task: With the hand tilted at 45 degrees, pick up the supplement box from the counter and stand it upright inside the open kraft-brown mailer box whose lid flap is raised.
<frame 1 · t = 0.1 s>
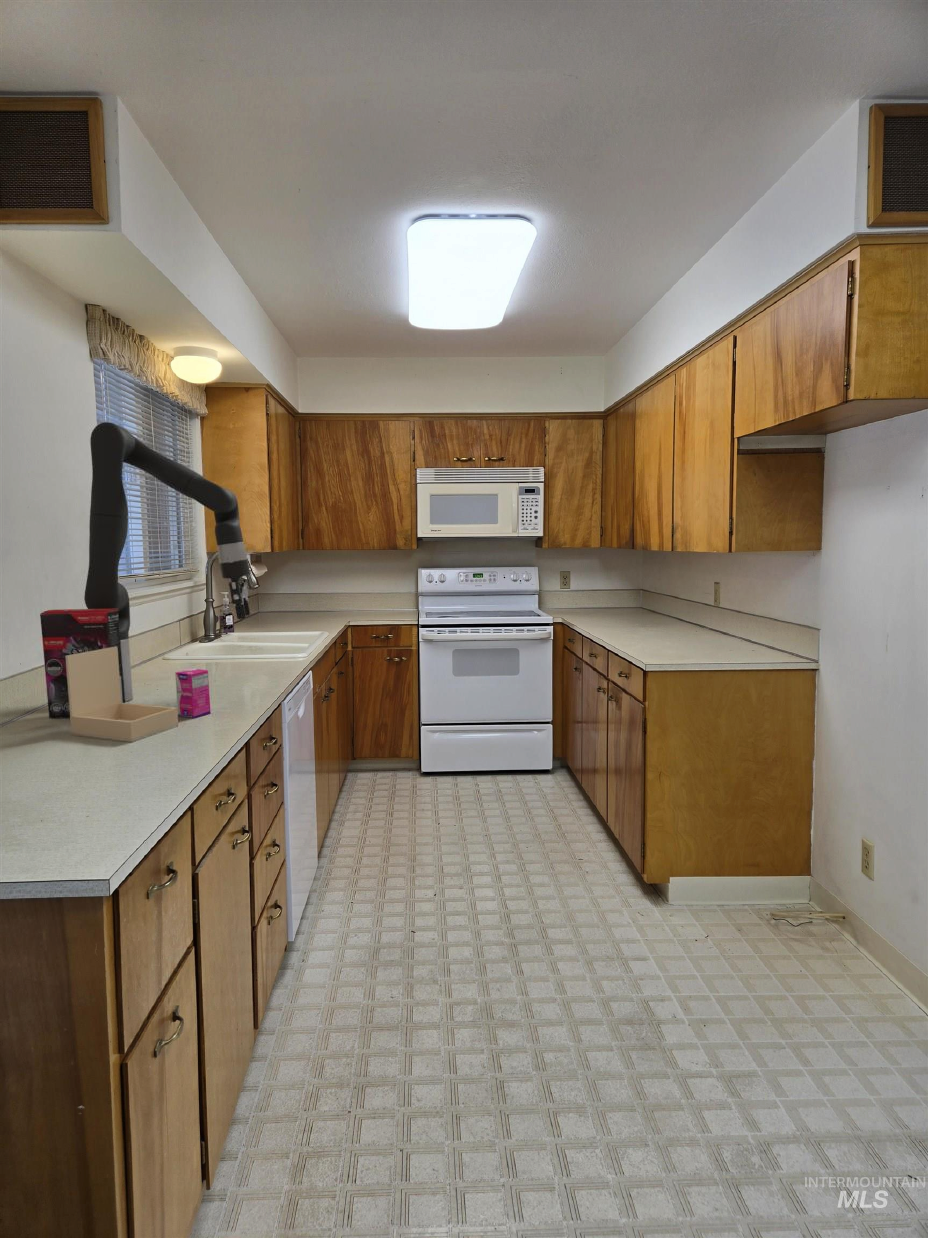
hand: (244, 617, 198), 22 cm above the counter, tool pointing down, fingers open, 8 cm apart
supplement box: (194, 715, 179), on the counter
graphics card box: (88, 716, 179), on the counter
mailer box: (126, 730, 165), on the counter
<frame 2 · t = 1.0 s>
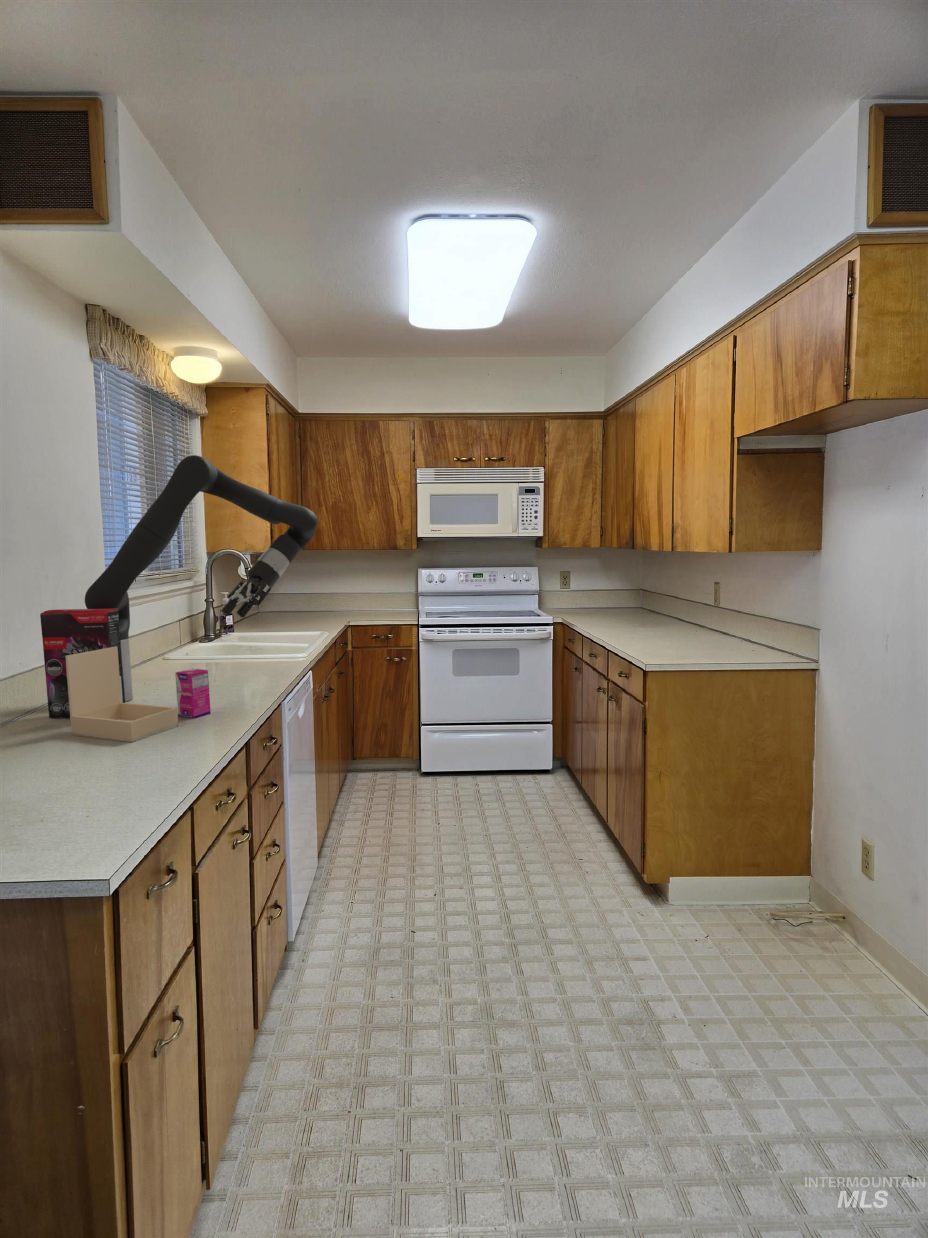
hand: (231, 614, 184), 25 cm above the counter, tool tilted 45°, fingers open, 8 cm apart
nothing on the counter moved.
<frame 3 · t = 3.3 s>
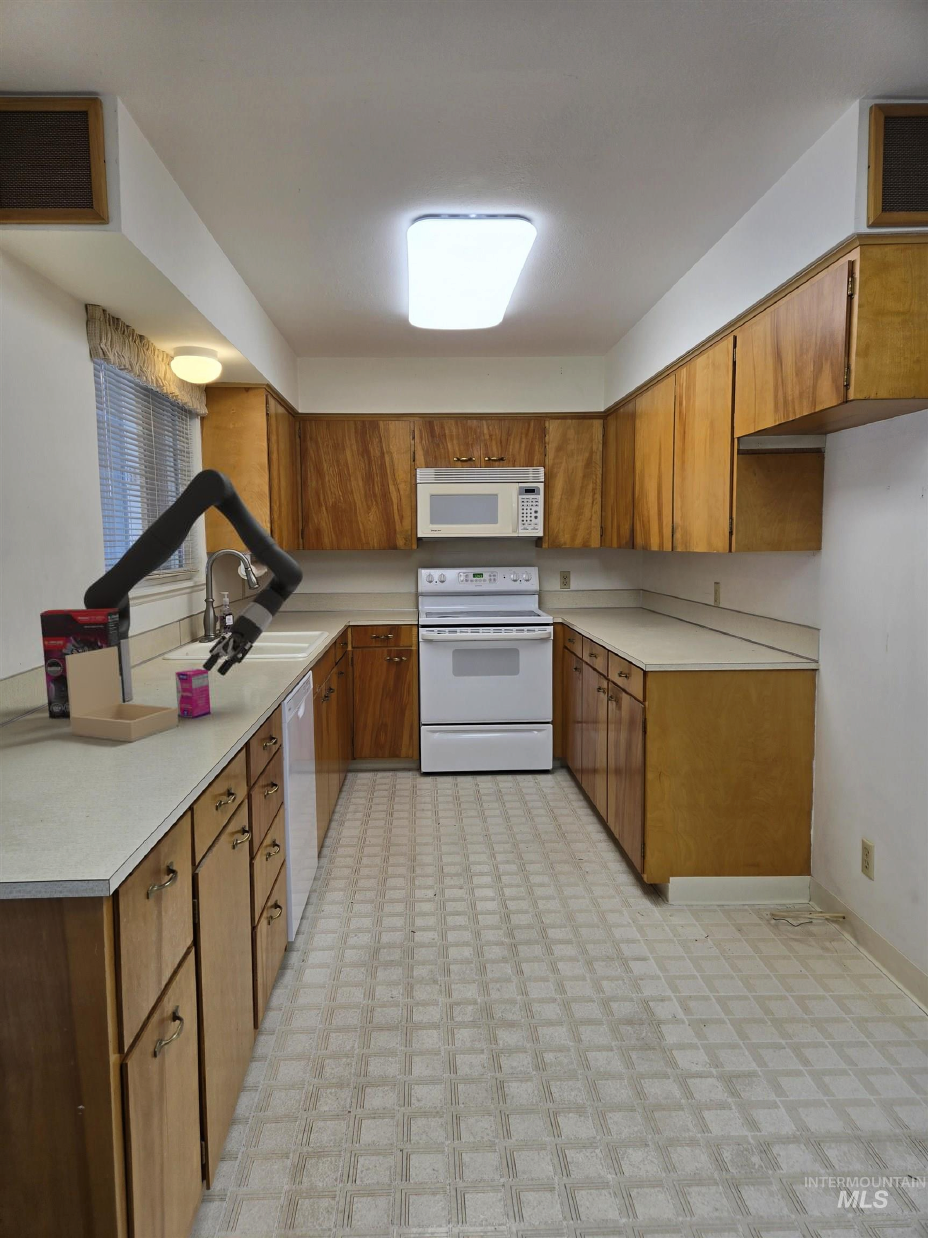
hand: (212, 671, 181), 10 cm above the counter, tool tilted 45°, fingers open, 8 cm apart
nothing on the counter moved.
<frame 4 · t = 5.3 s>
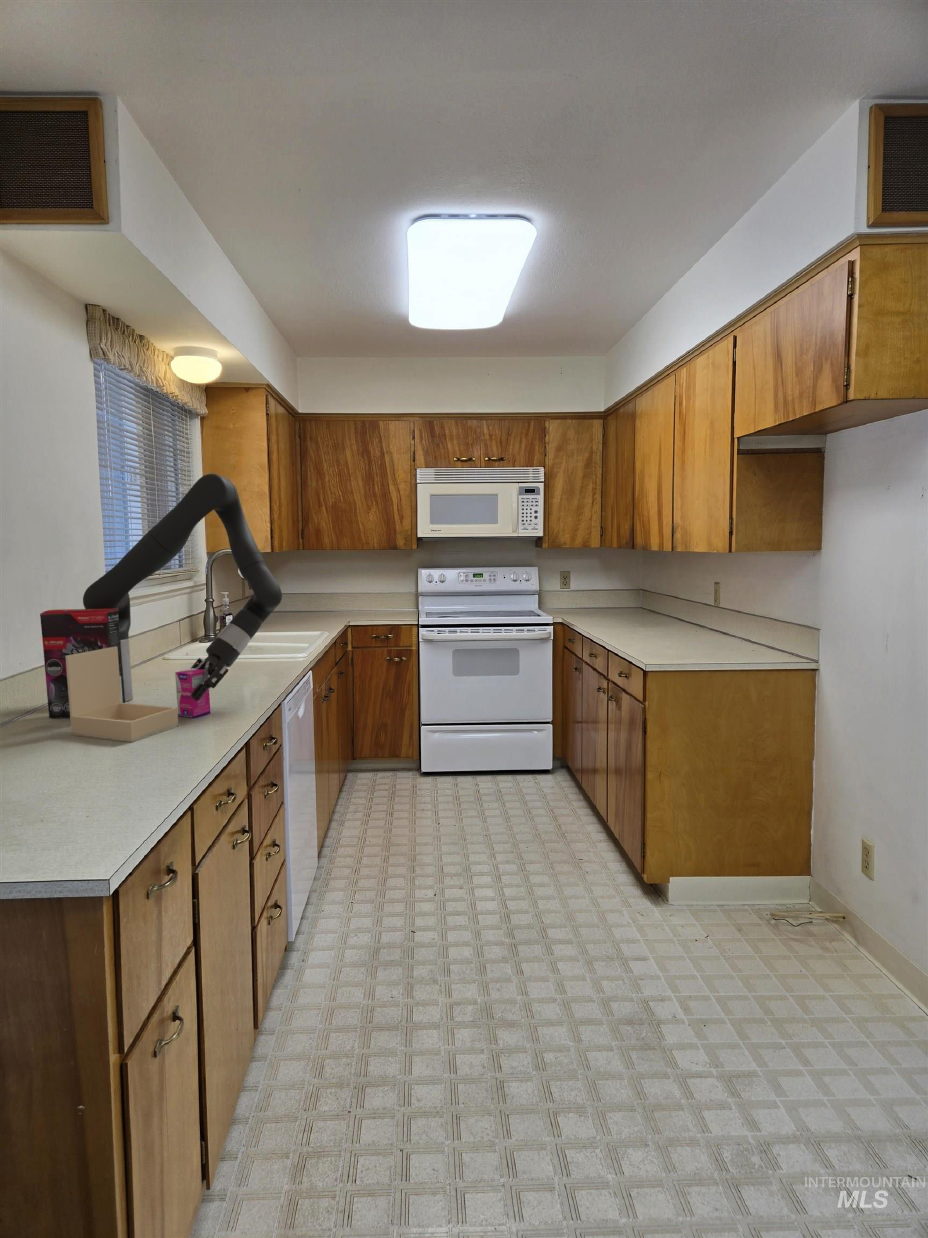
hand: (187, 696, 177), 5 cm above the counter, tool tilted 45°, fingers closed on supplement box, 7 cm apart
supplement box: (194, 715, 179), on the counter, touching gripper
everything else where it was.
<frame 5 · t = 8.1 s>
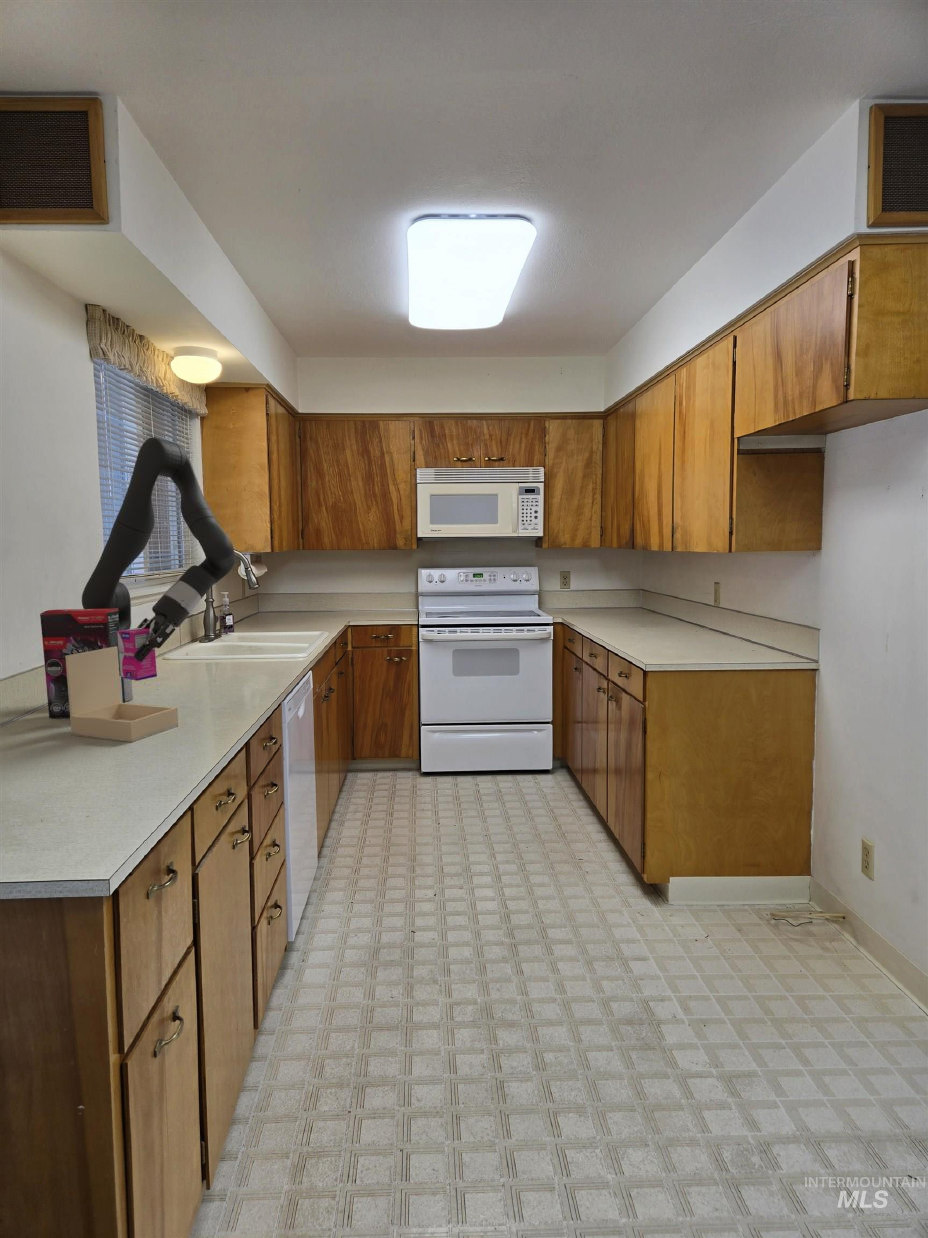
hand: (130, 657, 164), 17 cm above the counter, tool tilted 45°, fingers closed on supplement box, 7 cm apart
supplement box: (139, 678, 166), point 12 cm above the counter, touching gripper
everything else where it was.
when the fingers open (7 cm above the counter, at t = 11.0 s): supplement box drops 1 cm, resting on mailer box.
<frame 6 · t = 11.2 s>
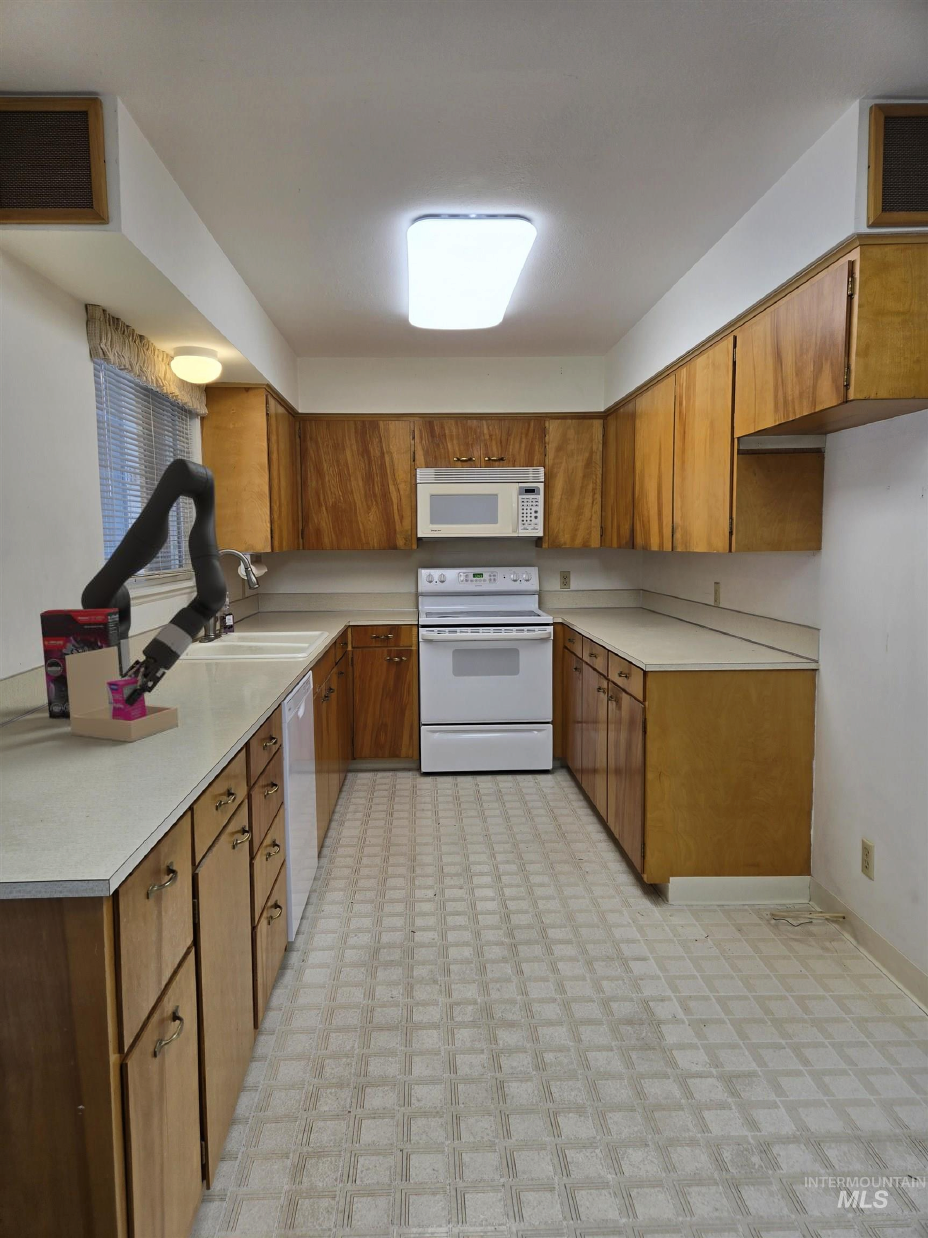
hand: (121, 701, 163), 7 cm above the counter, tool tilted 45°, fingers open, 8 cm apart
supplement box: (129, 728, 164), point 1 cm above the counter, touching mailer box
everything else where it was.
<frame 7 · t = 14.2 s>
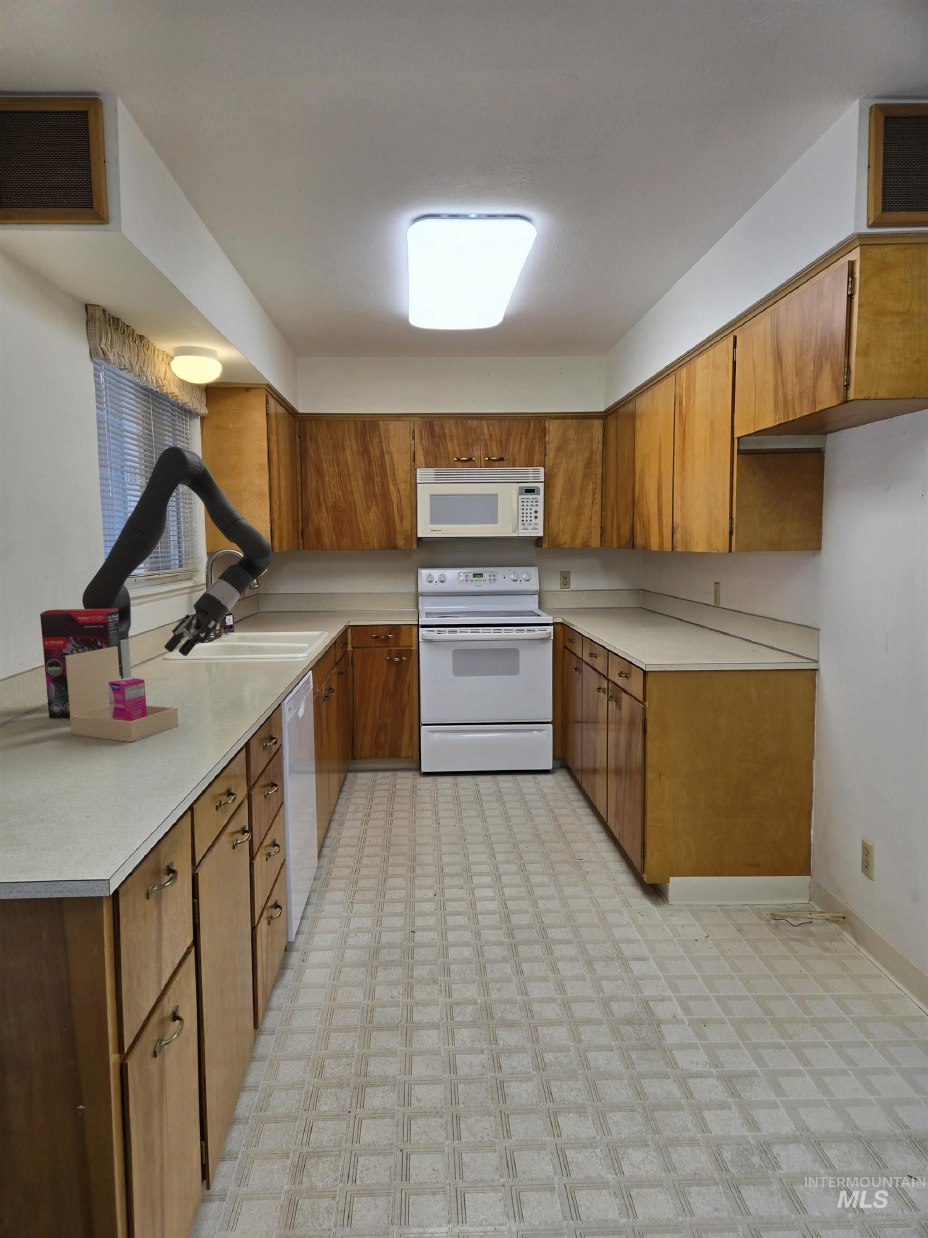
hand: (174, 651, 170), 17 cm above the counter, tool tilted 45°, fingers open, 8 cm apart
nothing on the counter moved.
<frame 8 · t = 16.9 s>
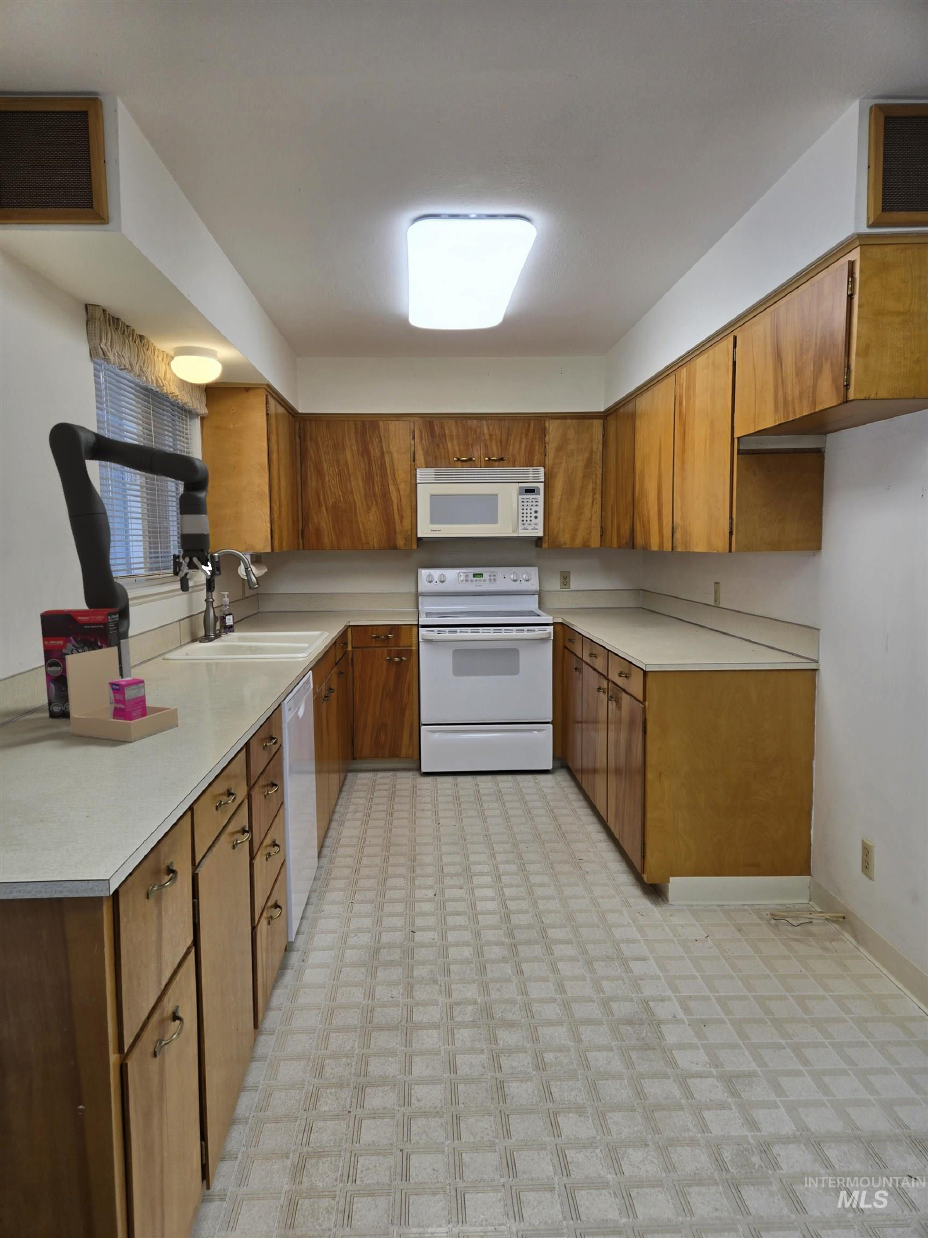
hand: (198, 592, 191), 30 cm above the counter, tool pointing down, fingers open, 8 cm apart
nothing on the counter moved.
at the end: supplement box inside the target area on the mailer box (1.0 cm from its centre), point 0.4 cm above the mailer box's base; supplement box tilted 0°; the gripper is holding nothing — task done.
